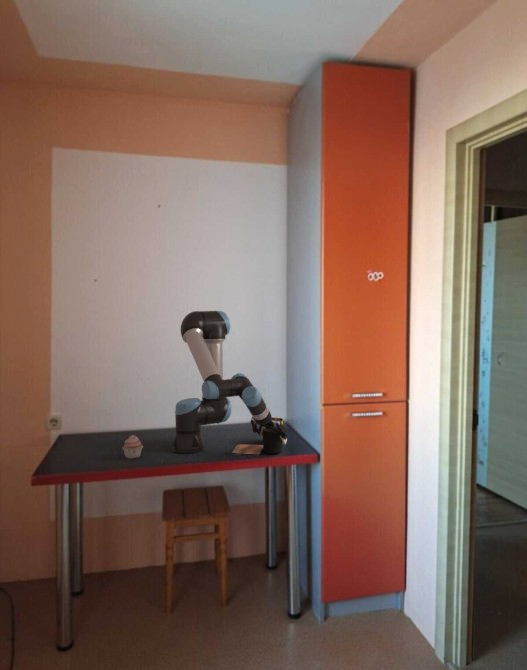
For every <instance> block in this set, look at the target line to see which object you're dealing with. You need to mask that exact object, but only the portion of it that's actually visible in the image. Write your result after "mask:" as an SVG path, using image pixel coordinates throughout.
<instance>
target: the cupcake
mask: <svg viewBox="0 0 527 670" xmlns="http://www.w3.org/2000/svg"><path fill="white" fill-rule="evenodd" d="M143 447H144V445H143V444H142V442H141V441H140V439H139V438H138V437H137V436H136V435H134V434H132V435H130V436H129V437H128V439H126V440H125V441H124V445H123V446H121V448H122V450H123V452H124V456H125V458H126V459H129V460H131V459H132V460H133V459H134V458H135V459H138V458H139V457H141V454H142V450H143Z"/></svg>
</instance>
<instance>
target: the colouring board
mask: <svg viewBox="0 0 527 670" xmlns="http://www.w3.org/2000/svg"><path fill="white" fill-rule="evenodd" d="M262 449H263V444H246V443H245V444H241V443H240V444H239V443H238V444H237V445H236V446H235V447H234V448H233V450H232V451H231V454H232V453H244V454H258V455H257V456H260V455H261V453H262V452H263V450H262ZM261 451H262V452H261ZM259 454H260V455H259Z"/></svg>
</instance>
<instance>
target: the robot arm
mask: <svg viewBox="0 0 527 670" xmlns="http://www.w3.org/2000/svg"><path fill="white" fill-rule="evenodd" d="M230 330H231V322H230V318H229V317H228V315H227V314H226V312H224V311H221V310H201V311H200V310H199V311H198V310H197V311H191V312H189V313H188V314H187V315H185V316H184V318H183V320H182V321H181V324H180V335H181V338H182V340H183V342H184V343H186V344H187V346H188V349H189V351H190V353H191V355H192V358H193V360H194V362H195V365H196V367H197V369H198V371H199V374H200V376H201V379H202V380H203V382H202V384H201V395H202V396H201V399H200V398H198V397H192V398H189V397H188V398H185V399H182V400H179V401H178V402H176V404H175V409H174V414H175V436H174V439H173V441H172V442H173V443H172V445H171V447H172V448H171V449H172V450H171V451H172V452H174V453H177V454H182V453H184V454H185V453H190V454H196V453H195V452H197V453H200V451H201V452H203V451H204V450H206V443H205V441H204V438H203V435H202V426H208V425H215V424H221V423H226V422H227V421H228V420H229V418H231V415H232V404H231V401H230V399H229V398H232V397H239V398H240V399H241V401H242V402H243V403H244V405H245V406H246V408H247V410H248V411H249V413H250V415H251V418H250V421H249V422H250V424H251V427H252V432H253V433H254V434H255V433H256V434H258V435H259V437H260V438H261V439H262V440H263V431H262V429H263V427H268V428H270V429H271V430H272V429H273V430H274V431H275V432H277V433H278V434H279V435H281V436H280V438H281V439H282V441H283V445H286V444H287V441H288V438H287V437H288V435H289V430H288V429H287V427H285V426H284V423H283V424H282V423H281V422H280V420H277V421H274V420H273V419H272V413H271V412H270V410H269V408H268V406H267V404H266V402H265V400H264V399H263V396H262V394H261V391H259V389H258V388H257V387H255V386H254V385H253V384H252V382H251V381H250V379H249V378H248V377H247V376H246V375H245V374H244V373H241V372H238V373H236V374H234V375H232V376H231V378H228V379H224V378H223V377H224V367H223V366H224V365H223V364H224V363H223V355H224V354H223V342H224V341H225V340H226V336H227V335H228V334H229V333H230ZM258 425H259V427H258ZM202 450H203V451H202Z"/></svg>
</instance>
